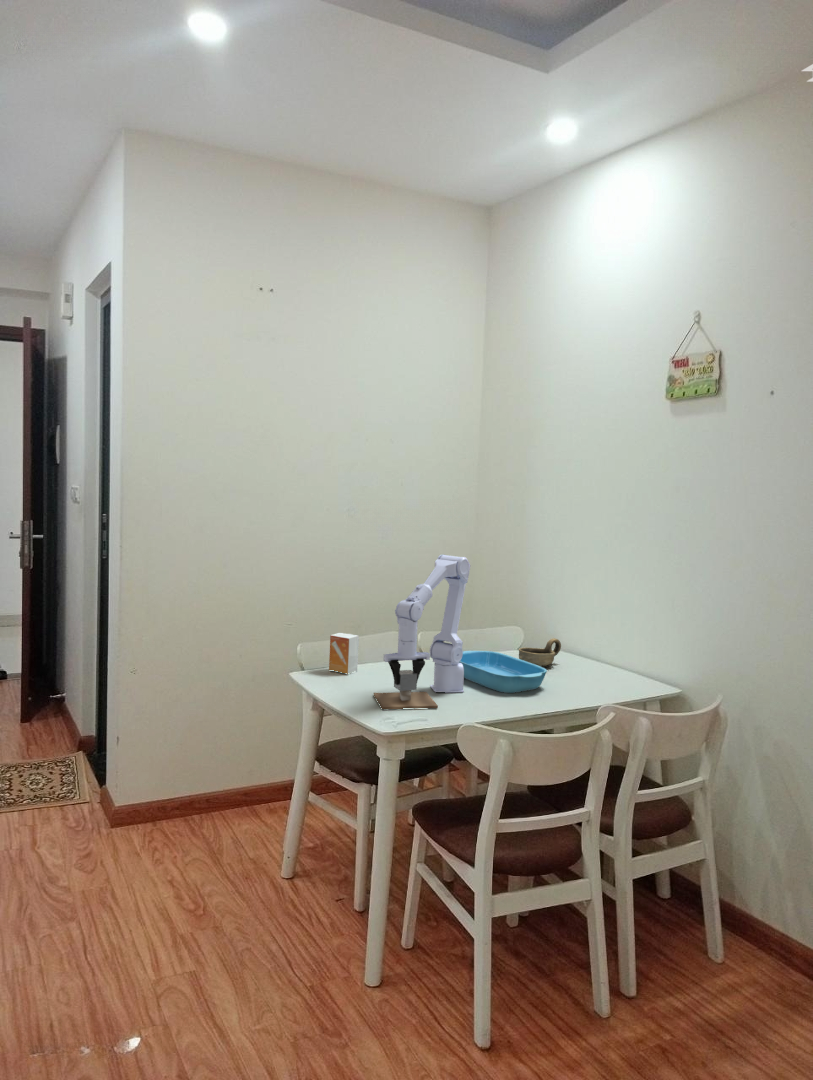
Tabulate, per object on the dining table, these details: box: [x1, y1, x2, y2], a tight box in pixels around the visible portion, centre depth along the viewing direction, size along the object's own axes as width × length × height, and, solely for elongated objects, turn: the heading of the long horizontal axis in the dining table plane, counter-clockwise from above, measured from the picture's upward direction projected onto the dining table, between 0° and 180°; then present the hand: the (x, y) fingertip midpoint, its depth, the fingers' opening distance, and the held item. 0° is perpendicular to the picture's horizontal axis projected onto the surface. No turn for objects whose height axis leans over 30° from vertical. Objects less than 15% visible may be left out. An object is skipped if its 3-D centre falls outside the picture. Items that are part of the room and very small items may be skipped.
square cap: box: [393, 669, 418, 692], centre depth 249 cm, size 5×5×5 cm
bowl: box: [518, 637, 562, 667], centre depth 303 cm, size 14×18×10 cm
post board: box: [373, 690, 439, 710], centre depth 249 cm, size 17×15×4 cm
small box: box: [328, 632, 360, 674], centre depth 282 cm, size 8×6×13 cm
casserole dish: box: [459, 650, 548, 694], centre depth 278 cm, size 37×22×7 cm, turn 34°
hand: (405, 683), depth 248 cm, fingers closed on square cap, 5 cm apart
